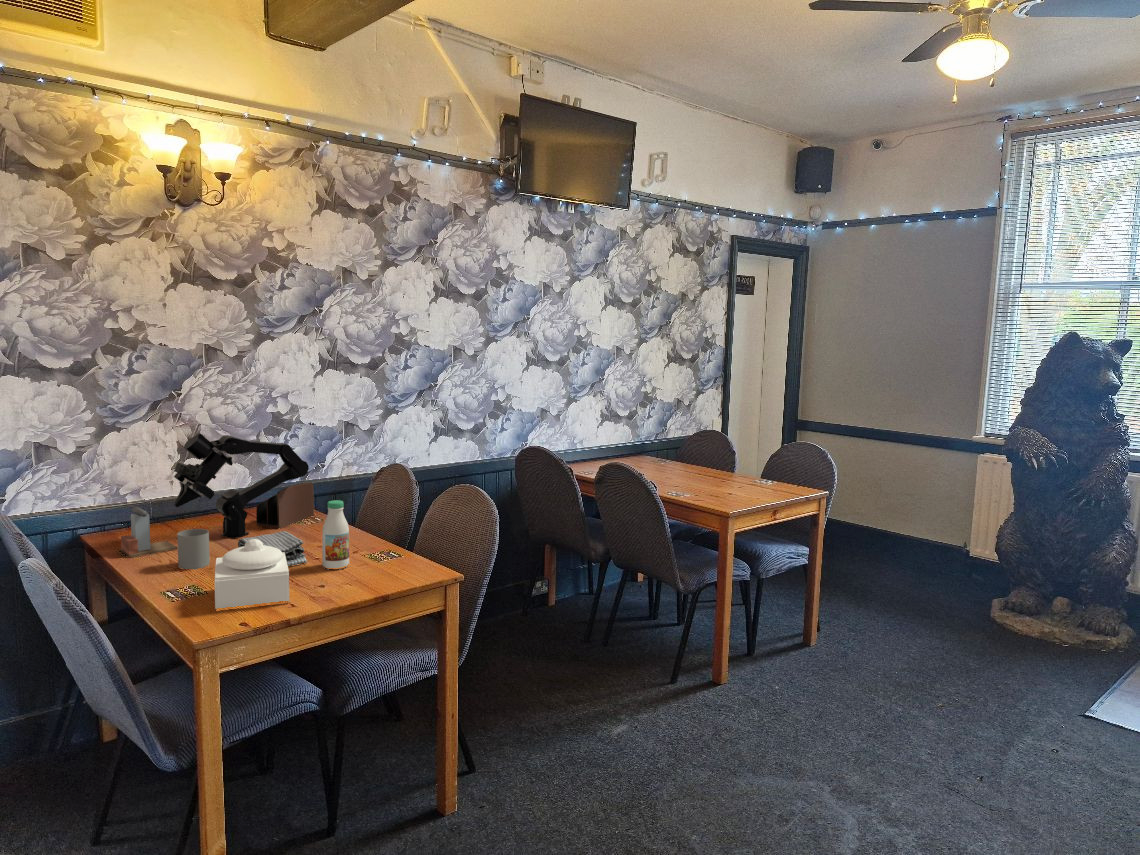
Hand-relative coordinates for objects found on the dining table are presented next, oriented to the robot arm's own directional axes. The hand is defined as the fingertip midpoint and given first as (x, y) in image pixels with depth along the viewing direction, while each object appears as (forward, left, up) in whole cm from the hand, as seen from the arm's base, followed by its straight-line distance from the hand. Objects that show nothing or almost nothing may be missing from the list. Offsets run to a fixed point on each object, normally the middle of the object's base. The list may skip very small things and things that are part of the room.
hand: (175, 506), depth 247 cm
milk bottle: (-59, -2, -13) cm, 60 cm away
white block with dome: (-54, +28, -13) cm, 62 cm away
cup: (-21, +14, -13) cm, 28 cm away
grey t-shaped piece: (+4, +10, -13) cm, 17 cm away
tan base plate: (+3, +8, -13) cm, 15 cm away
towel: (-38, +2, -13) cm, 41 cm away
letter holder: (-11, -39, -13) cm, 43 cm away
